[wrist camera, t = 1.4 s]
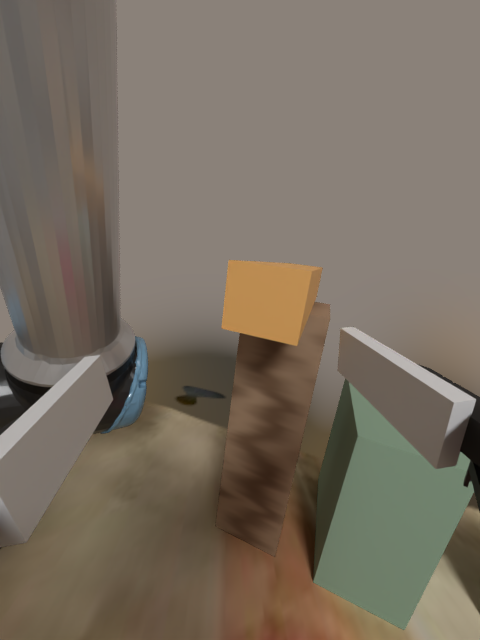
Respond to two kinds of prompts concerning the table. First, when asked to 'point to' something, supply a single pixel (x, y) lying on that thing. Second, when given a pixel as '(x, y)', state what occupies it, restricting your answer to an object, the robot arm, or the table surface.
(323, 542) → the green block
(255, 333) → the orange wooden block
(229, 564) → the table surface
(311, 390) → the tall wooden post
